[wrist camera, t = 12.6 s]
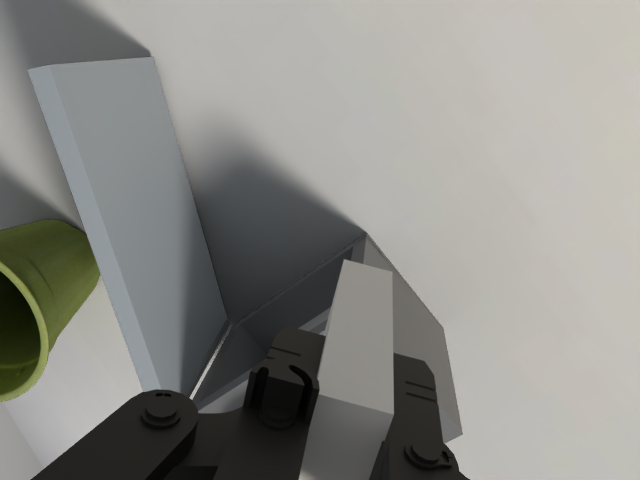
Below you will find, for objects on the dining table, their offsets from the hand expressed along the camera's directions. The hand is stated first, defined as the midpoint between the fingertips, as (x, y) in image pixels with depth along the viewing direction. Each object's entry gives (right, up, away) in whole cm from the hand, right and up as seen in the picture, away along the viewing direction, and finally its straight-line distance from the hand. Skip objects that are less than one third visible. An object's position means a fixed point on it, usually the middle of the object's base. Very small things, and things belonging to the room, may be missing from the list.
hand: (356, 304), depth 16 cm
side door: (-11, +4, +24) cm, 27 cm away
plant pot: (-23, +1, +28) cm, 36 cm away
